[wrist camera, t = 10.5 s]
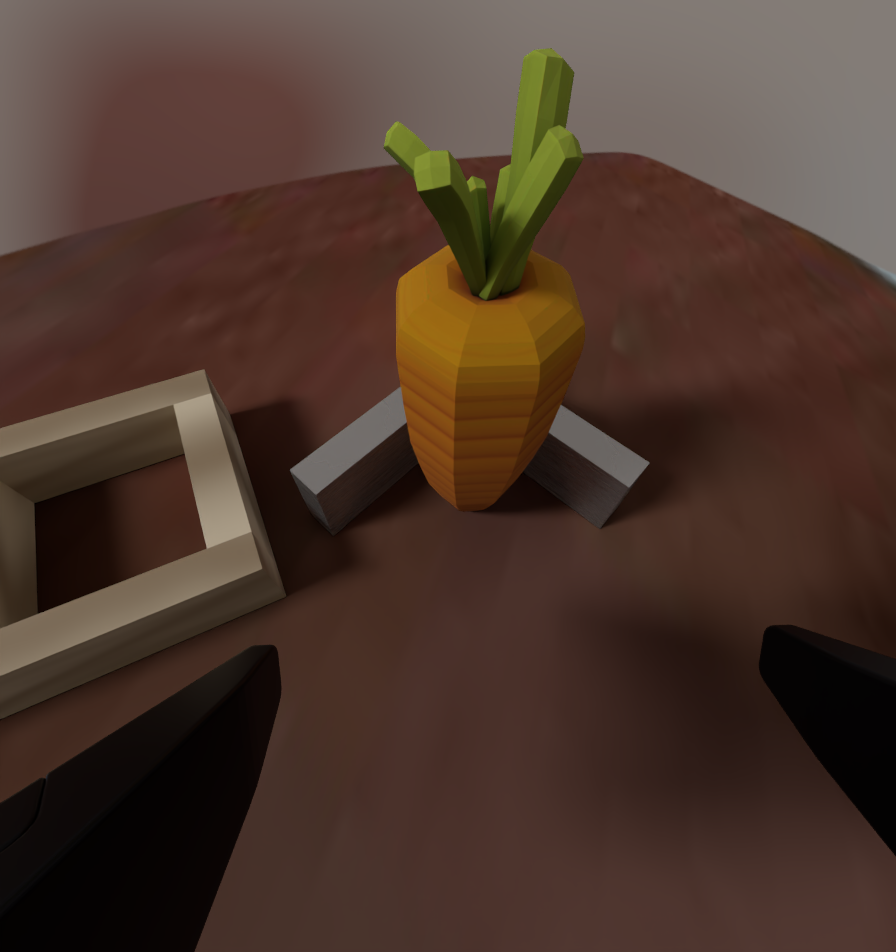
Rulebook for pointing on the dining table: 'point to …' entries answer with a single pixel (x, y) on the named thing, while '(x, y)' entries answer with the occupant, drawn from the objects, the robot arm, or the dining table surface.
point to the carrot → (490, 302)
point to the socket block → (149, 594)
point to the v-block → (391, 456)
